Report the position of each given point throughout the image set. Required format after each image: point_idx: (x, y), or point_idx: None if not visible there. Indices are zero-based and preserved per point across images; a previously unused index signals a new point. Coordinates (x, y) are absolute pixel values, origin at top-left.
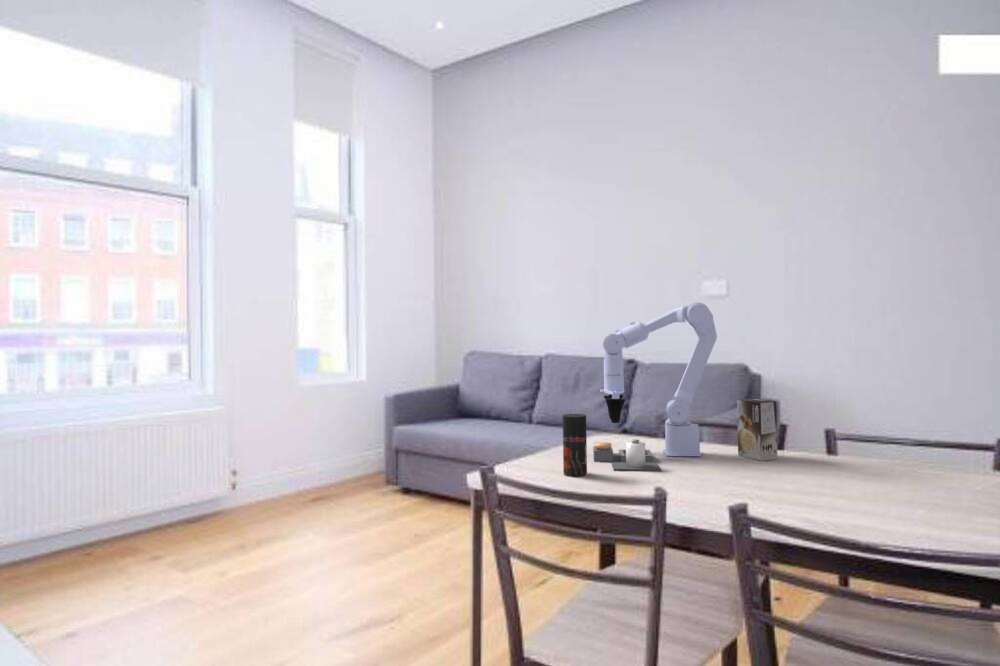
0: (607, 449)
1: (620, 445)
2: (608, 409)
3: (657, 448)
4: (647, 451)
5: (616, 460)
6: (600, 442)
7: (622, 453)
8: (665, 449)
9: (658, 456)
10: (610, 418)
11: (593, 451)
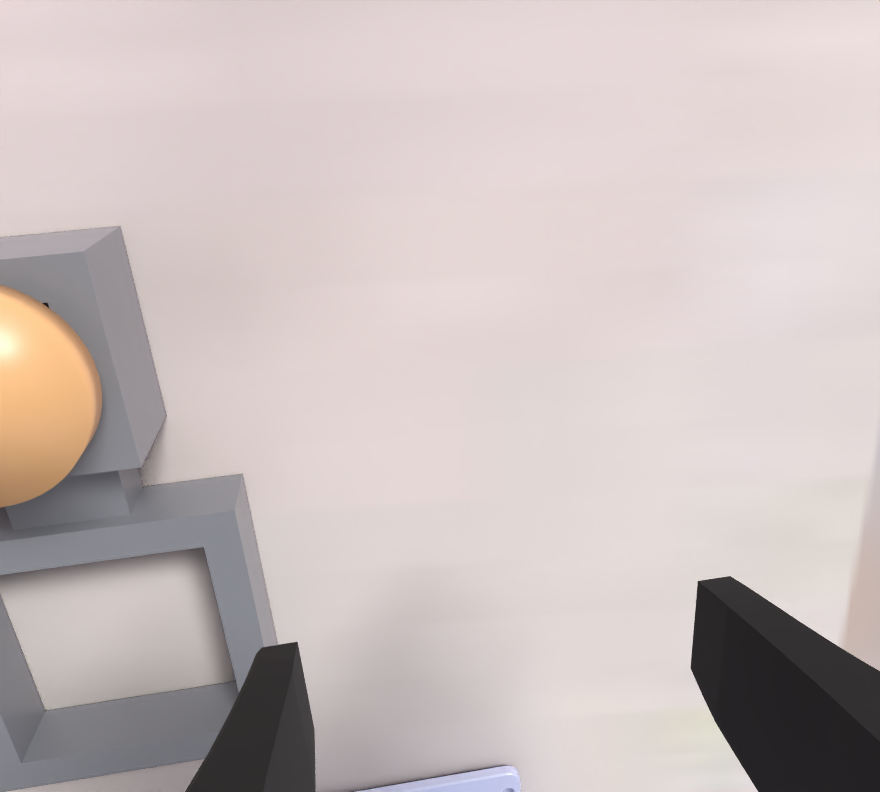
0: None
1: (795, 453)
2: (805, 679)
3: (640, 721)
4: (189, 740)
5: None
6: (46, 371)
7: (17, 559)
8: (516, 790)
9: None
10: (701, 591)
11: (7, 251)
